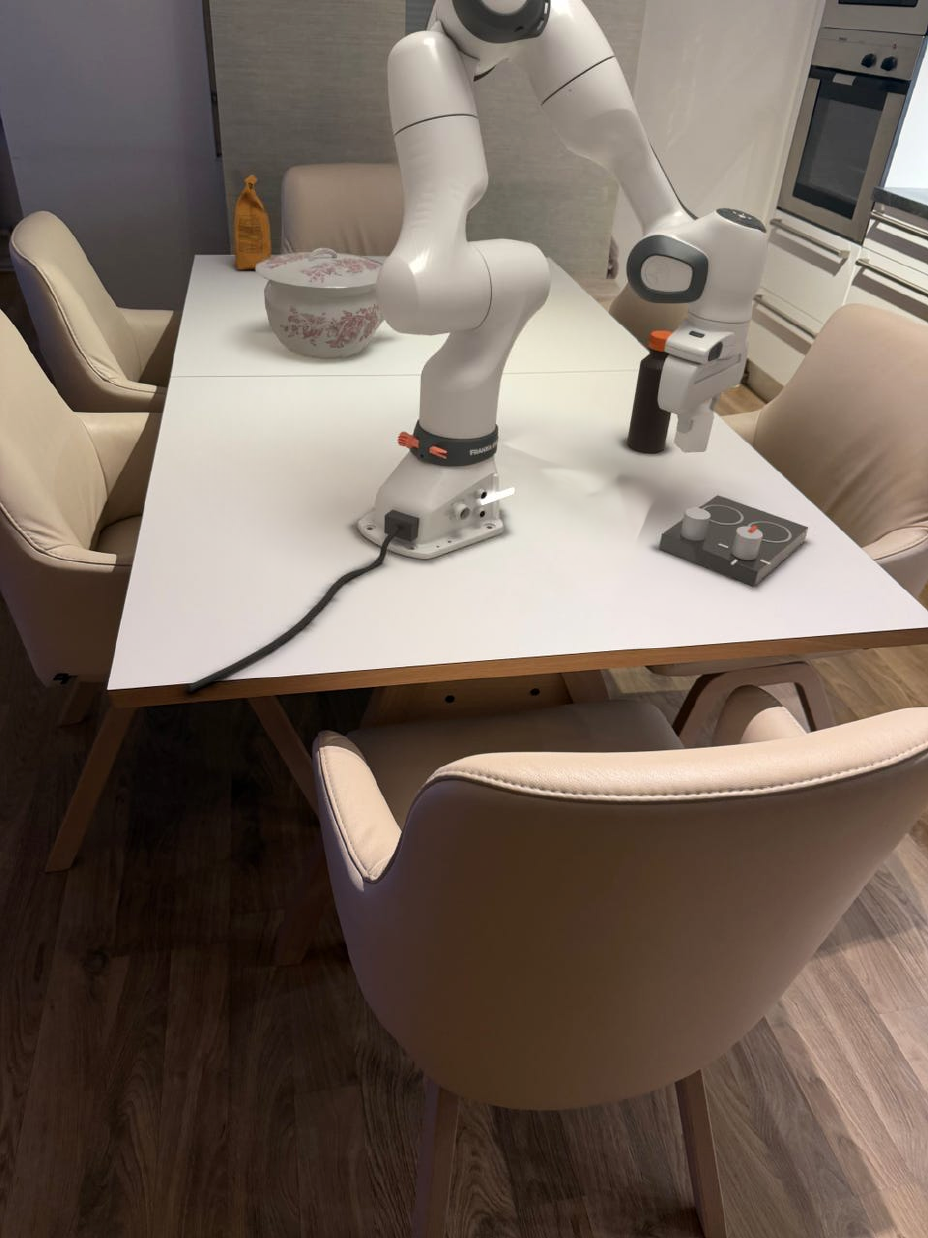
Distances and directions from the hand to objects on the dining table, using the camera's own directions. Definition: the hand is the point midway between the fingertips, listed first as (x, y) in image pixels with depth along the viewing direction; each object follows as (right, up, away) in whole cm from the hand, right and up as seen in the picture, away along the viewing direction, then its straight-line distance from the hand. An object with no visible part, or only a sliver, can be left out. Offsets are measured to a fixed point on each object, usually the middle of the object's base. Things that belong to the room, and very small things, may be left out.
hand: (693, 425), depth 143 cm
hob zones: (+6, -16, -3) cm, 17 cm away
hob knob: (+5, -20, -9) cm, 22 cm away
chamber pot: (-64, +29, +61) cm, 93 cm away
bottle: (-2, +2, +28) cm, 28 cm away
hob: (+5, -18, -1) cm, 19 cm away
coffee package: (-91, +66, +114) cm, 160 cm away
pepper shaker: (0, -3, +2) cm, 4 cm away
